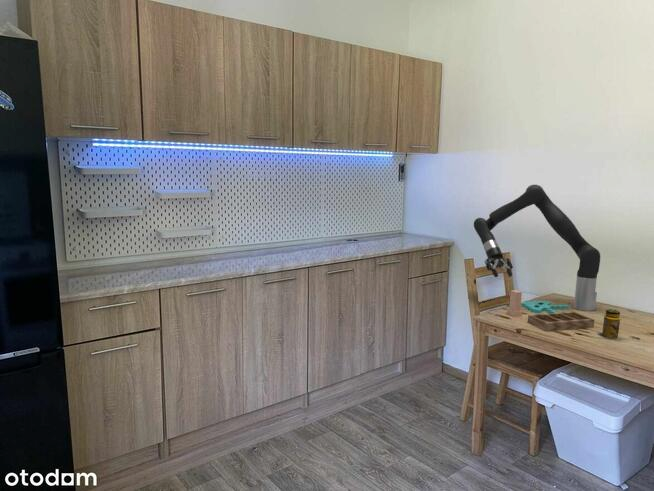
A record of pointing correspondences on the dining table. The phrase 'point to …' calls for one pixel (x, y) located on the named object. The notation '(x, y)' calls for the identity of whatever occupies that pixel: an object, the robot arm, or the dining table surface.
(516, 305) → the tan piece
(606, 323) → the condiment
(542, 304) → the alien figure
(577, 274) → the robot arm
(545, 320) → the rack
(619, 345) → the dining table surface
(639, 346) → the dining table surface
